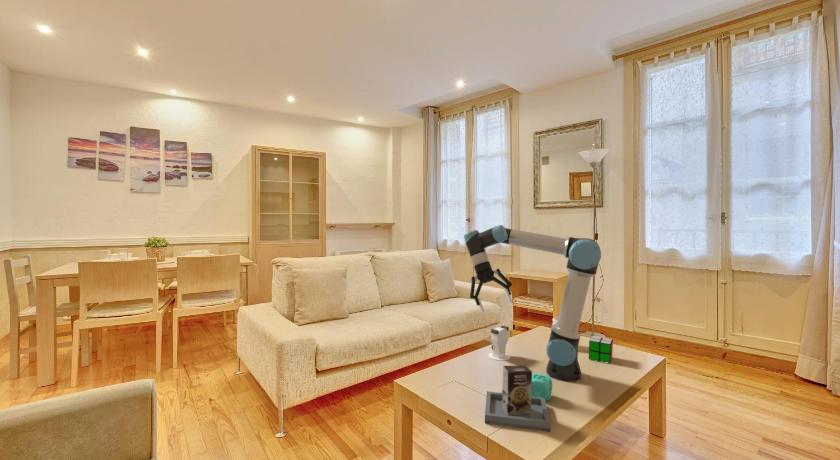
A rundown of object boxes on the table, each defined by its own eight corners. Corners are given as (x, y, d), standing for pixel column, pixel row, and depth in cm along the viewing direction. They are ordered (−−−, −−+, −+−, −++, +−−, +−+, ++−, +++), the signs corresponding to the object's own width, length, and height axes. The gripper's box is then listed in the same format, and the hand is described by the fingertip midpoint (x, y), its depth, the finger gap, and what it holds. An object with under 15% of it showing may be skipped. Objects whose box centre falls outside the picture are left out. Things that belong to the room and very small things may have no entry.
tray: (544, 405, 145) (544, 397, 144) (550, 431, 127) (550, 423, 127) (486, 398, 149) (486, 391, 149) (484, 423, 132) (485, 414, 131)
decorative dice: (532, 390, 157) (532, 371, 157) (552, 395, 153) (552, 376, 153) (527, 398, 150) (527, 378, 150) (548, 403, 146) (548, 383, 146)
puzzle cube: (612, 357, 194) (613, 338, 194) (610, 364, 186) (611, 344, 186) (591, 353, 200) (592, 335, 199) (588, 359, 191) (589, 340, 191)
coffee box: (507, 416, 134) (508, 372, 134) (501, 407, 141) (502, 365, 140) (531, 415, 136) (532, 371, 135) (524, 405, 142) (525, 364, 141)
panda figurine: (496, 350, 202) (497, 323, 202) (515, 356, 195) (515, 327, 194) (483, 356, 194) (484, 327, 193) (502, 362, 186) (503, 333, 185)
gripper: (503, 256, 179) (519, 299, 174) (454, 272, 176) (469, 316, 171) (508, 254, 172) (524, 298, 167) (457, 269, 169) (472, 315, 164)
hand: (496, 307), depth 169 cm, fingers open, 13 cm apart
